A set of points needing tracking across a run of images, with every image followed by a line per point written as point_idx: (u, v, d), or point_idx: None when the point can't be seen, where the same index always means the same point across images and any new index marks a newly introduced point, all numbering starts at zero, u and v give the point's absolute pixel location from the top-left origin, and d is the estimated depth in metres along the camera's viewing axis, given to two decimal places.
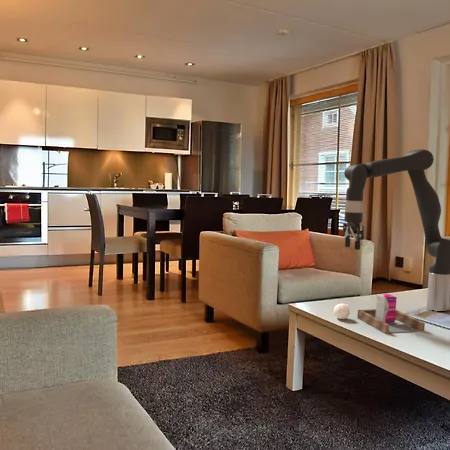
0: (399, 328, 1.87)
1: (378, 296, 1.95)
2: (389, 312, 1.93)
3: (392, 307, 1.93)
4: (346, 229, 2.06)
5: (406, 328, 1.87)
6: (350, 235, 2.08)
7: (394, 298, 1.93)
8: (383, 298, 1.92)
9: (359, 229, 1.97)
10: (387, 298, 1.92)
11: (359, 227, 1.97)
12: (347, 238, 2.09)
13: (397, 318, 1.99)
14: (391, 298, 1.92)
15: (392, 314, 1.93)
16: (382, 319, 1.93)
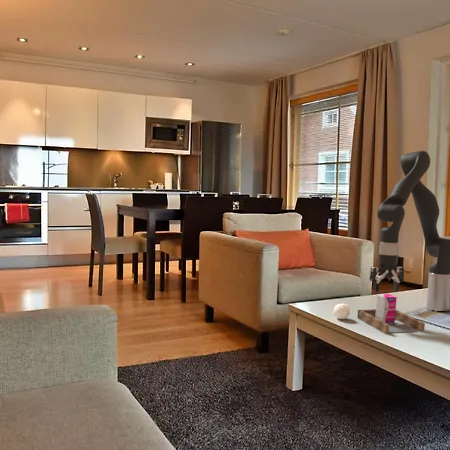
0: (399, 328, 1.87)
1: (378, 296, 1.95)
2: (389, 312, 1.93)
3: (392, 307, 1.93)
4: (383, 273, 1.92)
5: (406, 328, 1.87)
6: None
7: (394, 298, 1.93)
8: (383, 298, 1.92)
9: None
10: (387, 298, 1.92)
11: None
12: None
13: (397, 318, 1.99)
14: (391, 298, 1.92)
15: (392, 314, 1.93)
16: (382, 319, 1.93)
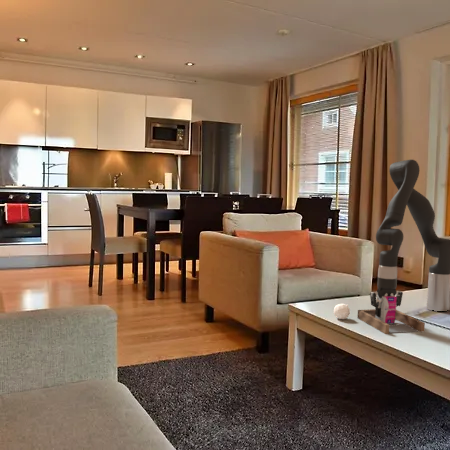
0: (399, 328, 1.87)
1: (378, 296, 1.95)
2: (389, 312, 1.93)
3: (392, 307, 1.93)
4: None
5: (406, 328, 1.87)
6: None
7: (394, 298, 1.93)
8: (383, 298, 1.92)
9: None
10: (387, 298, 1.92)
11: None
12: None
13: (397, 318, 1.99)
14: (391, 298, 1.92)
15: (392, 314, 1.93)
16: (382, 319, 1.93)
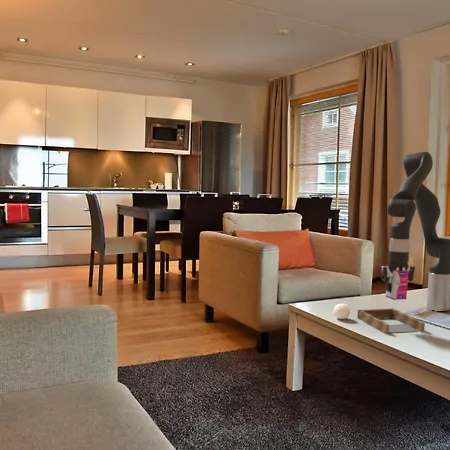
0: (399, 328, 1.87)
1: (389, 271, 1.87)
2: (401, 287, 1.84)
3: (404, 282, 1.84)
4: None
5: (406, 328, 1.87)
6: (390, 277, 1.87)
7: (406, 272, 1.84)
8: (394, 272, 1.84)
9: None
10: (398, 272, 1.83)
11: None
12: None
13: (397, 318, 1.99)
14: (403, 272, 1.84)
15: (404, 289, 1.85)
16: (393, 294, 1.84)
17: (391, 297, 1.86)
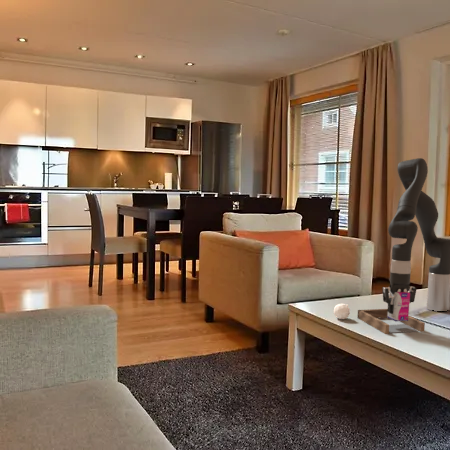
0: (399, 328, 1.87)
1: None
2: (402, 309, 1.84)
3: (406, 303, 1.84)
4: None
5: (406, 328, 1.87)
6: (391, 299, 1.86)
7: (408, 294, 1.84)
8: (396, 294, 1.83)
9: None
10: (400, 294, 1.83)
11: None
12: None
13: None
14: (404, 294, 1.83)
15: (406, 311, 1.84)
16: (395, 316, 1.84)
17: (393, 318, 1.85)
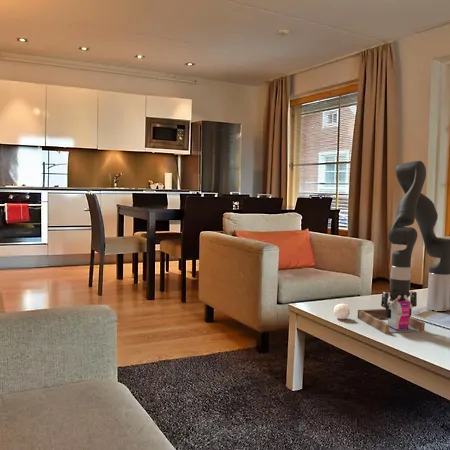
0: None
1: None
2: (403, 318, 1.84)
3: (406, 312, 1.84)
4: (395, 299, 1.84)
5: None
6: None
7: (408, 303, 1.84)
8: (396, 303, 1.84)
9: None
10: (400, 303, 1.83)
11: None
12: None
13: None
14: (405, 303, 1.84)
15: (406, 320, 1.85)
16: (395, 325, 1.84)
17: (393, 327, 1.85)
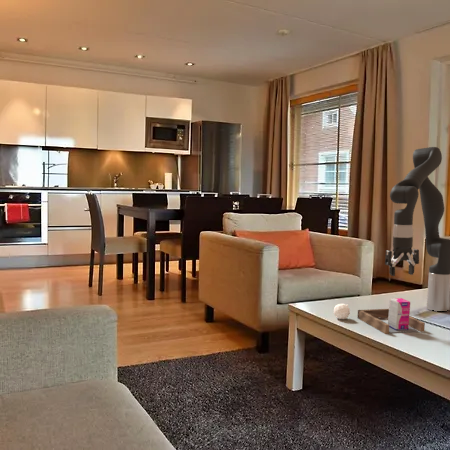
0: None
1: (391, 301, 1.87)
2: (403, 318, 1.84)
3: (406, 312, 1.84)
4: (399, 256, 1.88)
5: None
6: None
7: (408, 303, 1.84)
8: (396, 303, 1.84)
9: None
10: (400, 303, 1.83)
11: None
12: None
13: None
14: (405, 303, 1.84)
15: (406, 320, 1.85)
16: (395, 325, 1.84)
17: (393, 327, 1.85)
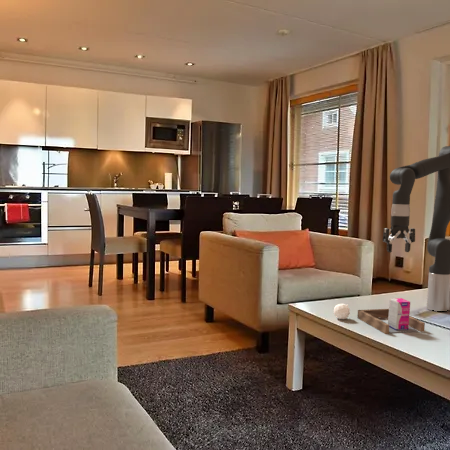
0: None
1: (391, 301, 1.87)
2: (403, 318, 1.84)
3: (406, 312, 1.84)
4: (396, 234, 2.01)
5: None
6: None
7: (408, 303, 1.84)
8: (396, 303, 1.84)
9: None
10: (400, 303, 1.83)
11: None
12: None
13: None
14: (405, 303, 1.84)
15: (406, 320, 1.85)
16: (395, 325, 1.84)
17: (393, 327, 1.85)
